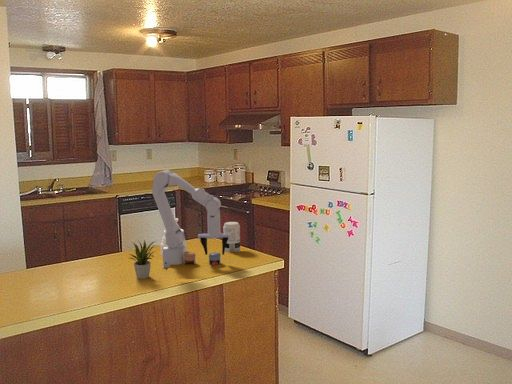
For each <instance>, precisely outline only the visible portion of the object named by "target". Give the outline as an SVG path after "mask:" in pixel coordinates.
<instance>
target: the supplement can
mask: <svg viewBox="0 0 512 384" xmlns="http://www.w3.org/2000/svg"><path fill="white" fill-rule="evenodd" d="M223 233H226V234H231V238H230V239H228V241H227V243H226V246H225V251H224V253H225V252H226V253H229V252H230V253H232V252H233V253H234V252H235V253H236V252H241V225H240V224H239V222H238V221H226V222H224V224H223Z"/></svg>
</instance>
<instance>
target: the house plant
mask: <svg viewBox="0 0 512 384" xmlns="http://www.w3.org/2000/svg"><path fill="white" fill-rule="evenodd" d="M155 242H157V240H154V241H151V243H149V245H147V242H146V240H144V241H143V245H142V243H141V241H138V243H139V246H138V245H137V244H136V243H135V242H132V244H133V246H134V253H135V255H134V254H132V253H128V255H130V257H129V259H131V260H134V261H135V262H134V263H133V267H134V272H135V276H136V279H138V280H144V279H148V278H149V277H150V272H151V261H150V260H153V258H154V257H155V255H154V252H156V250H154V251H152V249H154V247H157V244H154V243H155ZM153 244H154V245H153ZM125 247H127V248H128V246H126V245H125ZM139 247H140V248H139ZM150 247H151V248H150ZM129 249H130V250H132V248H131V247H129ZM151 251H152V252H151Z"/></svg>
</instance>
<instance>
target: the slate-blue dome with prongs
mask: <svg viewBox="0 0 512 384" xmlns="http://www.w3.org/2000/svg"><path fill="white" fill-rule="evenodd" d="M212 261H218V264H219V265H221V263H222V261H221V253H220V252H210V253H209V254H208V265H211V264H212Z"/></svg>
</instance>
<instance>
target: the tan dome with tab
mask: <svg viewBox="0 0 512 384" xmlns="http://www.w3.org/2000/svg"><path fill="white" fill-rule="evenodd" d="M189 263H193V265H196V263H197V261H196V253H195V252H184V263H183V265H186V264H189Z"/></svg>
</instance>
